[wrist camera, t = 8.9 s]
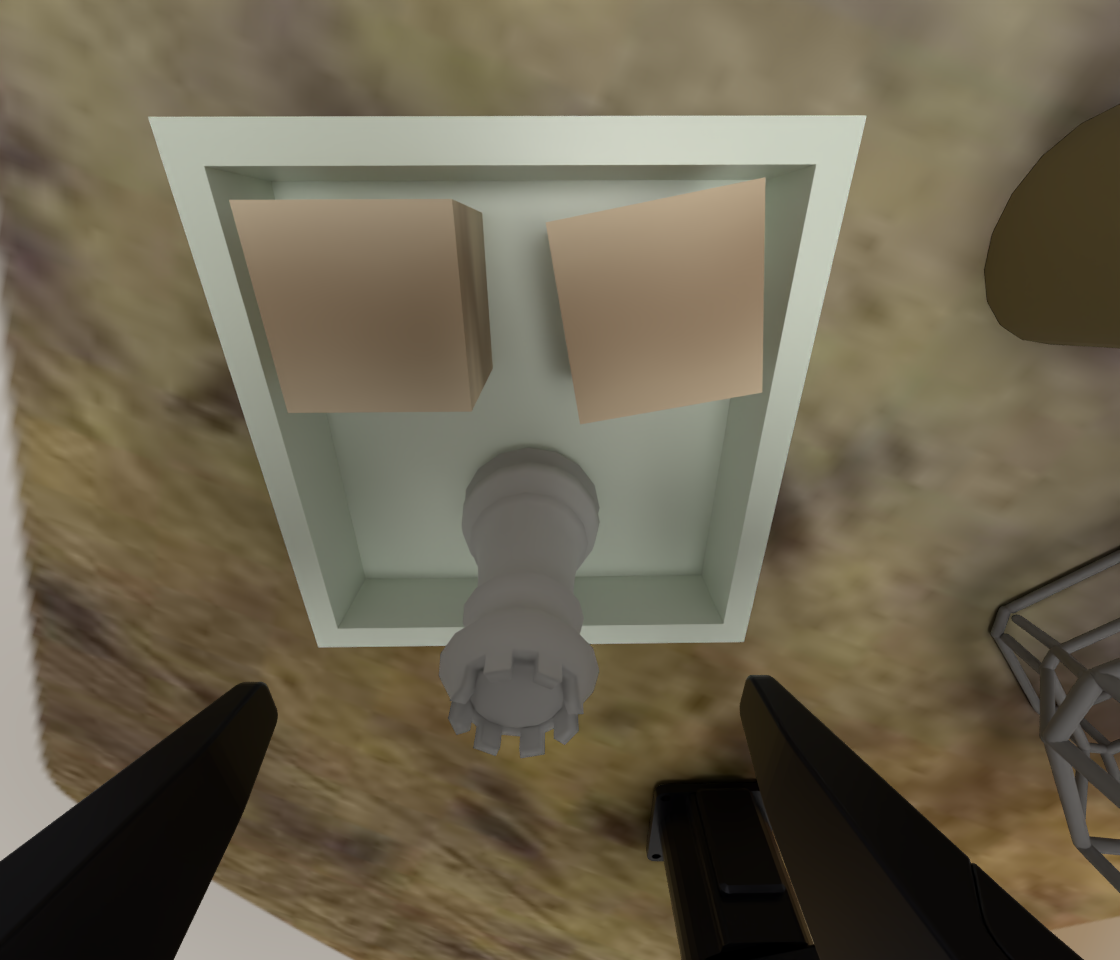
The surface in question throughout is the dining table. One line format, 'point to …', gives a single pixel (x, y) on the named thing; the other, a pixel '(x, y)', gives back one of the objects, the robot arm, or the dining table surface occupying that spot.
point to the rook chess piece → (523, 603)
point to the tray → (521, 362)
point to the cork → (1063, 243)
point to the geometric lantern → (1071, 713)
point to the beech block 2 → (663, 300)
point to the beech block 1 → (371, 301)
